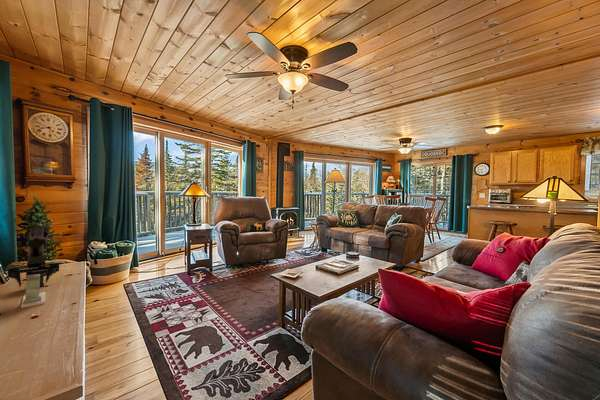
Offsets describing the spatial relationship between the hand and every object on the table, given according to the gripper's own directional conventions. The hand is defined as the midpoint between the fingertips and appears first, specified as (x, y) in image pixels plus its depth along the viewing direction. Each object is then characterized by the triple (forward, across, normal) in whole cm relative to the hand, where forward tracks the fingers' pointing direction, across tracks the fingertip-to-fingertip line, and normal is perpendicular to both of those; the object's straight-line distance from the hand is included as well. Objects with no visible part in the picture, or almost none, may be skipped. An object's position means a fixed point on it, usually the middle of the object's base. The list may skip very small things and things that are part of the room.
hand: (33, 284), depth 127 cm
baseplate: (+6, 0, +7) cm, 9 cm away
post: (+7, 0, +4) cm, 8 cm away
